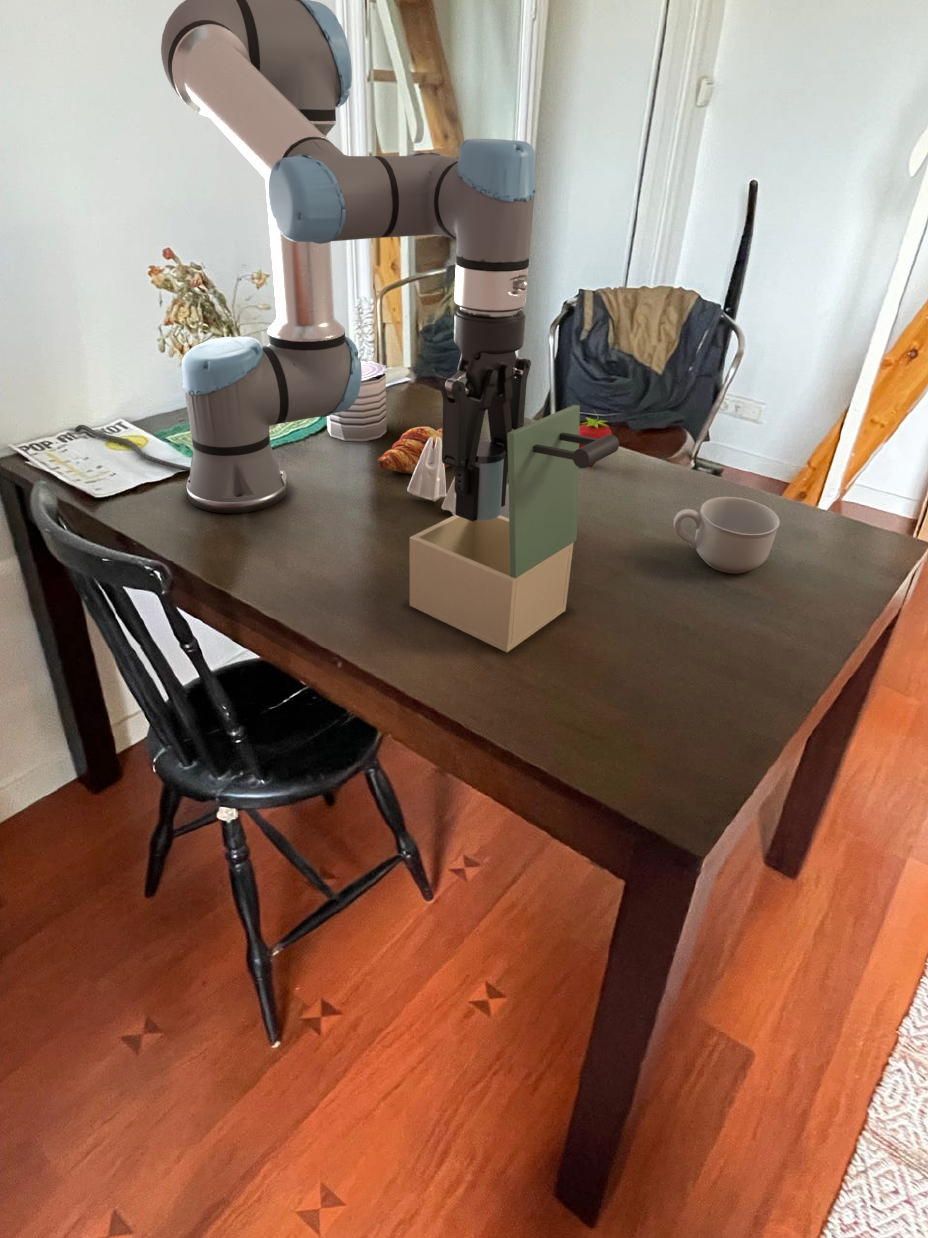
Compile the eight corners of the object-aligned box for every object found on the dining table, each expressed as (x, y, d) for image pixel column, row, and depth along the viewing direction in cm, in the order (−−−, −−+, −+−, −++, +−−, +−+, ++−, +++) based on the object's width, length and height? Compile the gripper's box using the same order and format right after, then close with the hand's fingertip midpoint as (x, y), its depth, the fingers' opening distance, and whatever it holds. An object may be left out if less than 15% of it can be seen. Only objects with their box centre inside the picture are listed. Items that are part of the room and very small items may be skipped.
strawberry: (562, 465, 147) (568, 410, 142) (591, 456, 151) (598, 402, 146) (586, 476, 143) (593, 420, 138) (615, 466, 147) (623, 412, 142)
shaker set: (405, 501, 132) (405, 435, 126) (421, 492, 135) (421, 427, 129) (468, 521, 127) (471, 453, 121) (482, 512, 130) (486, 445, 124)
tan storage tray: (409, 605, 106) (409, 537, 100) (471, 570, 114) (474, 505, 109) (506, 652, 98) (512, 581, 92) (565, 610, 106) (573, 542, 101)
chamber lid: (507, 432, 84) (571, 444, 80) (574, 404, 93) (636, 413, 88) (509, 576, 92) (568, 595, 88) (571, 538, 101) (628, 553, 96)
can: (384, 442, 153) (383, 378, 147) (323, 440, 153) (319, 376, 146) (388, 421, 163) (387, 360, 156) (330, 419, 162) (327, 358, 156)
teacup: (768, 553, 121) (781, 503, 117) (765, 588, 113) (779, 536, 108) (672, 536, 125) (682, 487, 121) (662, 569, 116) (672, 517, 112)
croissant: (463, 462, 155) (451, 420, 154) (497, 453, 147) (485, 408, 146) (371, 488, 143) (358, 442, 141) (403, 479, 135) (389, 430, 133)
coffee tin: (452, 514, 99) (454, 450, 95) (472, 500, 103) (475, 438, 98) (489, 524, 97) (492, 460, 93) (508, 509, 101) (512, 446, 96)
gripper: (464, 329, 79) (457, 545, 92) (566, 301, 91) (548, 496, 104) (406, 315, 83) (407, 524, 96) (511, 291, 95) (500, 480, 108)
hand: (480, 509), depth 100 cm, fingers closed on coffee tin, 5 cm apart
